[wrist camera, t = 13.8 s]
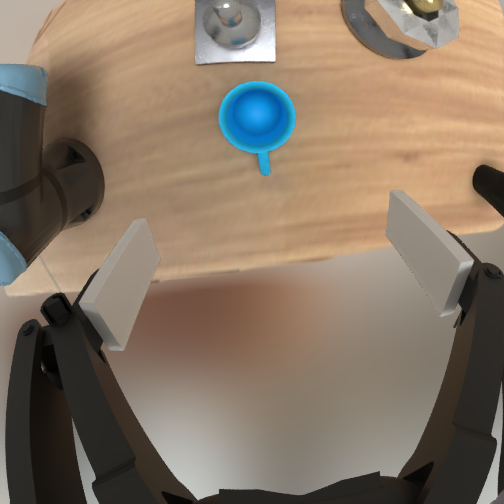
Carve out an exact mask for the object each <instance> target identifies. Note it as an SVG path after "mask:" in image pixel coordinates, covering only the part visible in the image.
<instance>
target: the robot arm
mask: <svg viewBox="0 0 504 504" xmlns="http://www.w3.org/2000/svg"><path fill="white" fill-rule="evenodd" d="M47 84H48V75H47V72H46V71H45V70H44V69H43V68H42V67H39V66H34V65H24V64H0V286H7V285H10V284H11V283H13V282H14V280H15V279H16V278H17V277H18V276H19V275H20V274H21V273H24V272H25V271H26V269H27V268H28V267H29V266H30V264H31V263H32V262H33V261H34V260H35V259H36V258H37V256H38V255H39V254H40V253H41V252H42V251H43V250H44V249H45V248H46V246H47V245H48V244H49V243H50V242H51V241H52V240H53V239H54V238H55V237H56V236H57V235H58V234H59V233H60V232H61V231H63V230H66V229H69V228H72V227H74V226H77V225H80V224H82V223H84V222H86V221H87V220H88V219H89V218H90V217H91V216H92V215H93V214H94V213H95V212H96V211H97V210H98V208H99V207H100V205H101V202H102V199H103V195H104V178H103V173H102V170H101V167H100V164H99V162H98V160H97V158H96V157H95V155H94V154H93V153H92V151H91V150H90V149H89V148H88V147H87V146H85V145H84V144H83V143H81V142H79V141H77V140H73V139H61V140H58V141H56V142H54V143H51V144H49V145H48V146H46V147H45V148H44V149H43V150H42V143H43V128H44V117H45V108H46V107H47V102H46V94H47ZM386 236H387V238H388V239H389V240H390V242H391V243H392V244H393V246H394V247H395V249H396V250H397V251H398V253H399V254H400V256H401V257H402V258H403V260H404V261H405V263H406V264H407V266H408V267H409V269H410V270H411V271H412V273H413V275H414V276H415V278H416V279H417V281H418V282H419V284H420V285H421V287H422V288H423V290H424V292H425V293H426V294H427V296H428V298H429V300H430V301H431V303H432V304H433V306H434V308H435V309H436V311H437V313H438V314H439V316H440V317H442V316H446V315H449V314H453V313H454V311H455V308H456V306H457V304H458V303H459V305H460V306H461V308H462V310H461V312H460V314H459V316H458V318H457V320H456V322H455V324H454V328H455V327H456V326H457V328H456V334H455V338H454V342H453V346H452V350H451V354H450V358H449V362H448V365H447V369H446V372H445V376H444V379H443V382H442V385H441V389H440V392H439V394H438V397H437V400H436V403H435V406H434V408H433V411H432V413H431V416H430V418H429V421H428V423H427V426H426V428H425V430H424V433H423V435H422V437H421V439H420V442H419V444H418V446H417V448H416V450H415V452H414V454H413V455H412V456H411V458H410V459H409V460H408V462H407V463H406V464H405V466H404V467H403V468H402V470H401V472H400V473H399V475H398V477H397V478H396V477H389V476H380V471H378V472H374V473H371V474H367V475H363V476H359V477H354V478H350V479H345V480H341V481H339V482H336V483H334V484H332V485H329V486H327V487H324V488H321V489H319V490H316V491H314V492H311V493H308V494H305V495H291V494H283V493H276V492H270V491H264V490H259V489H255V490H233V489H232V490H231V489H219V494H216V495H212V496H208V497H205V498H203V499H200V500H197V499H196V498H195V497H194V496H193V494H192V493H191V492H190V491H189V490H188V489H187V488H186V487H185V486H184V485H183V484H182V483H181V482H179V481H178V480H177V479H176V477H175V476H174V475H173V473H172V472H171V471H170V469H169V468H168V467H167V465H166V464H165V462H164V461H163V460H162V458H161V457H160V455H159V454H158V452H157V451H156V449H155V448H154V446H153V444H152V443H151V441H150V440H149V438H148V437H147V435H146V433H145V432H144V430H143V428H142V427H141V425H140V423H139V422H138V420H137V418H136V416H135V415H134V413H133V411H132V409H131V407H130V406H129V404H128V402H127V400H126V398H125V396H124V394H123V392H122V390H121V388H120V386H119V384H118V382H117V380H116V378H115V376H114V374H113V372H112V370H111V368H110V365H109V363H108V361H107V359H106V356H105V354H104V352H103V351H102V350H101V345H102V343H103V342H104V343H105V344H106V346H107V347H108V348H109V350H118V351H124V349H125V347H126V344H127V341H128V338H129V336H130V333H131V330H132V328H133V325H134V322H135V320H136V317H137V314H138V312H139V309H140V307H141V304H142V302H143V299H144V297H145V295H146V292H147V290H148V287H149V285H150V282H151V280H152V278H153V275H154V273H155V271H156V268H157V266H158V264H159V262H160V257H159V254H158V251H157V248H156V246H155V243H154V240H153V237H152V234H151V231H150V228H149V225H148V222H147V218H141V219H135V220H133V222H132V223H131V224H130V226H129V227H128V229H127V230H126V231H125V233H124V234H123V235H122V237H121V238H120V240H119V241H118V243H117V244H116V245H115V247H114V248H113V250H112V251H111V253H110V254H109V256H108V257H107V259H106V260H105V262H104V263H103V265H102V266H101V268H100V269H98V270H97V271H95V272H94V273H93V274H92V275H91V276H90V278H89V279H88V281H87V282H86V285H85V286H84V287H83V290H81V292H80V294H79V295H78V297H77V299H76V300H75V302H74V303H73V305H72V306H71V304H70V302H69V301H68V299H67V297H66V296H65V294H64V293H56V294H54V295H52V296H50V297H49V298H47V299H46V301H45V302H44V303H43V304H42V306H41V310H40V311H41V313H42V314H43V316H44V317H45V319H46V320H47V322H48V323H49V325H47V326H44V327H42V326H41V325H40V324H39V322H38V321H37V320H36V319H32V320H29V321H27V322H25V324H23V325H22V327H21V329H20V330H19V333H18V336H17V340H16V345H15V350H14V355H13V361H12V366H11V373H10V380H9V388H8V397H7V409H6V431H5V433H6V434H5V442H6V443H5V448H6V449H5V450H6V470H7V481H8V489H9V496H10V504H87V501H86V497H85V493H84V489H83V485H82V481H81V476H80V471H79V466H78V461H77V455H76V449H75V442H74V436H73V435H74V434H73V426H72V418H73V421H74V424H75V427H76V429H77V432H78V435H79V437H80V440H81V443H82V445H83V448H84V450H85V452H86V455H87V457H88V460H89V462H90V464H91V466H92V468H93V471H94V473H95V476H96V480H95V481H94V482H93V483H92V489H93V492H94V494H95V496H96V498H97V500H98V502H99V504H476V503H477V501H478V499H479V496H480V494H481V492H482V489H483V487H484V484H485V482H486V479H487V476H488V473H489V470H490V468H491V465H492V462H493V458H494V455H495V452H496V446H497V440H496V438H494V437H492V435H491V432H492V427H493V423H494V419H495V414H496V410H497V404H498V399H499V393H500V387H501V381H502V393H503V429H502V445H501V455H500V463H499V474H498V497H497V499H496V500H494V501H493V502H491V503H490V504H504V275H503V273H502V271H501V270H500V269H499V268H498V267H497V266H495V265H493V264H490V263H481V261H480V260H479V259H478V258H477V257H476V256H475V255H474V254H473V253H472V252H471V251H470V249H468V248H467V247H466V245H465V244H464V243H462V241H461V240H460V239H459V238H458V237H457V236H456V235H454V234H453V233H451V232H450V231H448V230H445V229H444V228H443V227H442V226H441V225H440V224H439V223H438V222H437V221H436V220H435V219H434V218H433V217H432V216H430V215H429V214H428V213H427V212H426V211H425V210H424V209H423V208H422V207H421V206H420V205H419V204H417V203H416V202H415V201H414V200H413V199H412V198H411V197H409V196H408V195H407V194H406V193H405V192H404V191H402V190H393V191H390V198H389V209H388V219H387V227H386ZM41 366H42V367H43V368H44V370H43V371H42V368H41Z"/></svg>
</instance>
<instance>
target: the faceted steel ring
mask: <svg viewBox="0 0 504 504" xmlns="http://www.w3.org/2000/svg"><path fill="white" fill-rule="evenodd" d="M443 3H444V5H443V8H442V9H440V10H437V11H433V12H429V13H426V14H423V15H422V18H420V17H418V16H415V15H414V14H413V12H412V11H411V10H410V8H409V7H408V6H407V4H406V3H405V2H404V0H365V9H366V10H367V11H368V13H369V14H370V15H371V16H372V18H373V19H374V20H375V21H376V23H377V24H378V25H379V26H380V28H381V29H382V30H383V32H384V33H385V34H386V36H387V37H388V38H390V39H392V40H395V41H398V42H400V43H403V44H406V45H408V46H411V47H413V48H415V49H418V50H429V49H438V48H439V47H441V46H443V45H445V44H447V43H449V42H451V41H452V40H454V39H456V38H458V37H459V16H458V7H457V6H456V4H455V3H454V1H453V0H443Z"/></svg>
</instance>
